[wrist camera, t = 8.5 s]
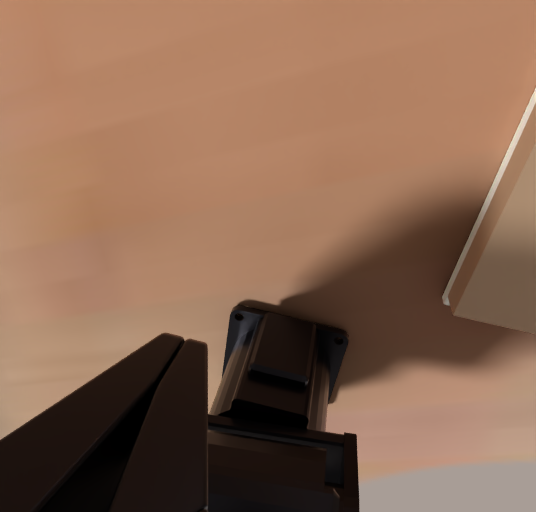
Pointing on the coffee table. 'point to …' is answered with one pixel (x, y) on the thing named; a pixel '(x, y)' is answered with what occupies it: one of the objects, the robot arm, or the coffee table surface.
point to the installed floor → (503, 243)
